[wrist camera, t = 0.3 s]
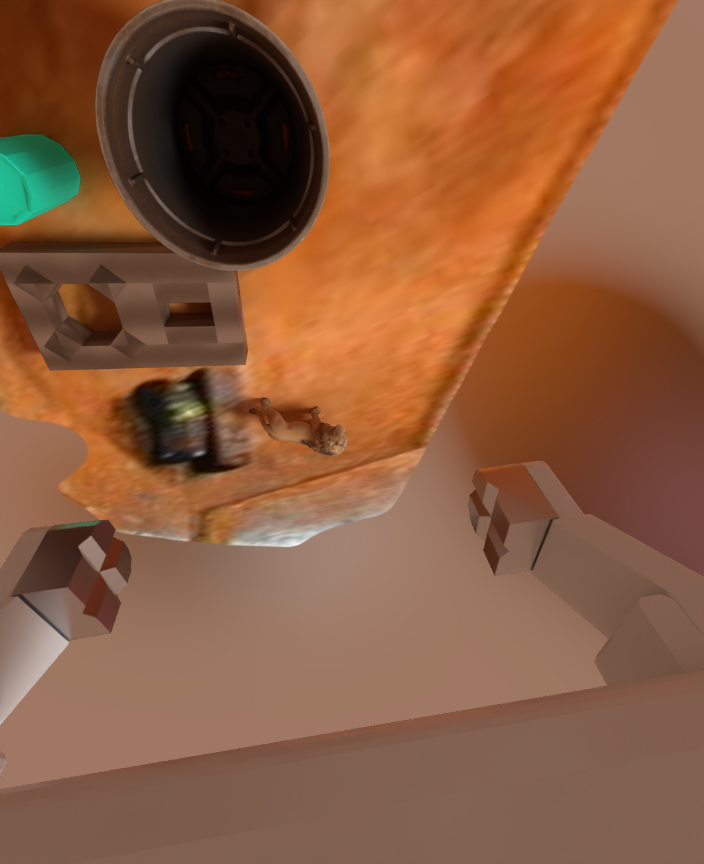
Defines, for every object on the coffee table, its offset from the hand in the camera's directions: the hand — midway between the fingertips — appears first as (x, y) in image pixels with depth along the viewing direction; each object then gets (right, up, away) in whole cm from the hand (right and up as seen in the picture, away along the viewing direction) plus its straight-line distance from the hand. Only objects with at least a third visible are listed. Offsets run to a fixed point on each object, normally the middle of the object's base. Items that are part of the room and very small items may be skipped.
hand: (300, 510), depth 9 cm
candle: (-30, +29, +32) cm, 53 cm away
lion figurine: (-7, +5, +56) cm, 56 cm away
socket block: (-25, +18, +42) cm, 52 cm away
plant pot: (-11, +32, +33) cm, 47 cm away
